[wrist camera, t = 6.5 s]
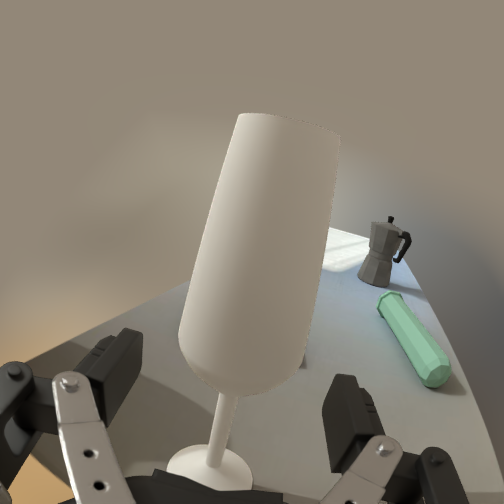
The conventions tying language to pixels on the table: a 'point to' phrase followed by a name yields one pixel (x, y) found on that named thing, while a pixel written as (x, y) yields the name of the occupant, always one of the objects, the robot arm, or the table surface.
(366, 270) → the coffeepot
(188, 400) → the table surface
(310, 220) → the champagne flute
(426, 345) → the container
